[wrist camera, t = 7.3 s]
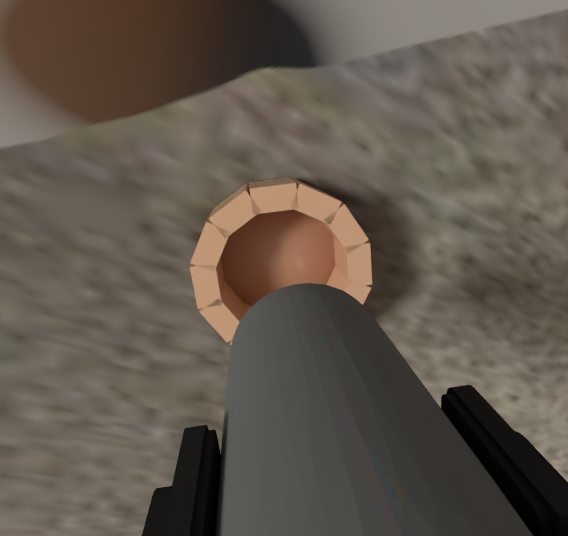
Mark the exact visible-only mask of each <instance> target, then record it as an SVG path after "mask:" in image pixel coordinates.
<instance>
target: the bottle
mask: <svg viewBox="0 0 568 536" xmlns="http://www.w3.org/2000/svg"><path fill="white" fill-rule="evenodd" d="M215 536H533V535H532V533H531V532H530V531H529V529H528V528H527V526H526V525H525V524H524V522H523V521H522V519H521V518H520V516H519V515H518V514H517V512H516V511H515V509H514V508H513V507H512V505H511V504H510V502H509V501H508V500H507V498H506V497H505V495H504V494H503V493H502V491H501V490H500V488H499V487H498V486H497V484H496V483H495V481H494V480H493V479H492V477H491V476H490V475H489V473H488V472H487V471H486V469H485V468H484V466H483V465H482V464H481V462H480V461H479V460H478V458H477V457H476V456H475V454H474V453H473V452H472V450H471V449H470V447H469V446H468V445H467V443H466V442H465V441H464V439H463V438H462V437H461V435H460V434H459V433H458V431H457V430H456V428H455V427H454V426H453V424H452V423H451V422H450V420H449V419H448V418H447V416H446V415H445V413H444V412H443V411H442V409H441V408H440V407H439V405H438V404H437V403H436V401H435V400H434V399H433V397H432V396H431V394H430V393H429V392H428V390H427V389H426V388H425V386H424V385H423V384H422V382H421V381H420V380H419V378H418V377H417V375H416V374H415V373H414V371H413V370H412V369H411V367H410V366H409V365H408V363H407V362H406V361H405V359H404V358H403V356H402V355H401V354H400V352H399V351H398V350H397V348H396V347H395V346H394V344H393V343H392V342H391V340H390V339H389V338H388V336H387V335H386V334H385V332H384V331H383V330H382V328H381V327H380V326H379V324H378V323H377V322H376V321H375V319H374V318H373V317H372V315H371V314H370V313H369V312H368V310H367V309H366V308H365V307H364V306H363V305H362V304H361V303H360V302H359V301H358V300H357V299H355V298H354V297H352V296H351V295H349V294H348V293H346V292H345V291H343V290H340V289H337V288H334V287H332V286H329V285H324V284H315V283H303V284H293V285H290V286H286V287H283V288H280V289H277V290H275V291H273V292H271V293H269V294H267V295H266V296H264V297H263V298H261V299H260V300H258V301H257V302H256V303H255V304H254V305H253V306H252V307H251V308H250V309H249V310H248V311H247V312H246V314H245V315H244V316H243V318H242V319H241V321H240V322H239V324H238V326H237V329H236V331H235V334H234V336H233V340H232V344H231V348H230V358H229V368H228V379H227V389H226V401H225V413H224V425H223V437H222V449H221V461H220V473H219V485H218V498H217V511H216V525H215Z"/></svg>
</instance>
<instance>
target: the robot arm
mask: <svg viewBox="0 0 568 536" xmlns="http://www.w3.org/2000/svg"><path fill="white" fill-rule="evenodd" d="M441 409H442V411H443V412H444V413H445V415H446V416H447V418H448V419H449V420H450V422H451V423H452V424H453V426H454V427H455V428H456V430H457V431H458V433H459V434H460V435H461V437H462V438H463V439H464V441H465V442H466V443H467V445H468V446H469V447H470V449H471V450H472V452H473V453H474V454H475V456H476V457H477V458H478V460H479V461H480V462H481V464H482V465H483V466H484V468H485V469H486V471H487V472H488V473H489V475H490V476H491V477H492V479H493V480H494V481H495V483H496V484H497V486H498V487H499V488H500V490H501V491H502V493H503V494H504V495H505V497H506V498H507V500H508V501H509V502H510V504H511V505H512V507H513V508H514V509H515V511H516V512H517V514H518V515H519V516H520V518H521V519H522V521H523V522H524V524H525V525H526V526H527V528H528V529H529V531H530V532H531V533H532V535H533V536H568V482H567V481H566V480H565V479H564V478H563V477H562V476H561V475H560V474H559V473H558V472H557V471H556V470H555V469H554V468H553V466H552V465H551V464H550V463H549V462H548V461H547V460H546V459H545V458H544V457H543V456H542V455H541V454H540V453H539V452H538V451H537V450H536V449H535V447H534V446H533V445H532V444H531V443H530V442H529V441H528V440H527V439H526V438H525V437H524V436H523V435H522V434H520V433H518V432H516V431H514V430H513V429H512V428H511V427H510V426H509V425H508V424H507V423H506V422H505V421H504V419H503V418H502V417H501V416H500V415H499V414H498V413H497V412H496V411H495V410H494V409H493V408H492V407H491V406H490V404H489V403H488V402H487V401H486V400H485V399H484V398H483V397H482V396H481V395H480V394H479V393H478V392H477V390H476V389H475V388H474V387H472V386H471V385H465V386H458V387H452V388H449V389H448V390H447V394H444V395H442V398H441ZM220 461H221V454H220V449H219V444H218V439H217V434H216V430H208V427H207V425H203V426H196V427H190V428H185V430H184V433H183V438H182V443H181V447H180V452H179V456H178V461H177V466H176V470H175V475H174V480H173V484H172V486H169V487H162V488H157V489H156V490H155V491H154V493H153V496H152V500H151V503H150V507H149V511H148V515H147V518H146V522H145V526H144V530H143V534H142V536H215V525H216V511H217V498H218V485H219V473H220Z"/></svg>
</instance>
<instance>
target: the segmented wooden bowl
mask: <svg viewBox="0 0 568 536" xmlns="http://www.w3.org/2000/svg"><path fill="white" fill-rule="evenodd" d="M368 240H369V239H368V237H367V236H366V235H365V233H364V232H363V230H362V229H361V227H360V226H359V224H358V223H357V221H356V220H355V219H354V217H353V216H352V214H351V213H350V211H349V210H348V208H347V207H346V205H345V204H343V203H342V202H341V201H340V200H338V199H336V198H335V197H333V196H331V195H330V194H328V193H326V192H323V191H321V190H319V189H317V188H314V187H312V186H310V185H308V184H305V183H303V182H301V181H298V180H296V179H294V178H292V179H290V178H276V179H266V180H260V181H256V182H249V184H248V185H246V184H245V185H243V186H242V187H241V188H240V189H238V190H236V191H235V192H233V193H232V194H230V195H229V196H228V197H227V198H226V199H225V200H224V201H222V202H221V203H220V204H219V205H218V206H216V207H215V208H214V209H213V211H212V212H211V214H210V216H209V218H208V220H207V222H206V224H205V227H204V229H203V232H202V234H201V237H200V239H199V242H198V245H197V247H196V250H195V252H194V255H193V258H192V260H191V266H190V270H191V275H192V281H193V286H194V291H195V296H196V302H197V307H198V309H199V308H200V313H201V314H202V315H203V316H204V317H205V319H206V320H207V321H208V322H209V323H210V324H211V325H212V326H213V327H214V329H215V330H216V331H217V332H218V333H219V334H220V335H221V336H222V338H223V339H224V340H225V341H226V342H229V341H230V345H231V344H232V340H233V336H234V334H235V331H236V329H237V326H238V324H239V322H240V321H241V319H242V318H243V316H244V315H245V314H246V312H247V311H248V310H249V309H250V308H251V307H252V306H253V305H254V304H255V303H256V302H257V301H258V300H260V299H261V298H263V297H264V296H266V295H267V294H269V293H271V292H273V291H275V290H277V289H280V288H283V287H286V286H290V285H293V284H303V283H315V284H324V285H329V286H332V287H334V288H337V289H340V290H343V291H345V292H346V293H348V294H349V295H351V296H352V297H354V298H355V299H357V300H358V301H359V302H360V303H361V304H362V305H363V304H364V302H365V300H366V298H367V296H368V294H369V292H370V290H371V287H370V286H369V285H372V268H371V249H370V243H369V242H368Z"/></svg>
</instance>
